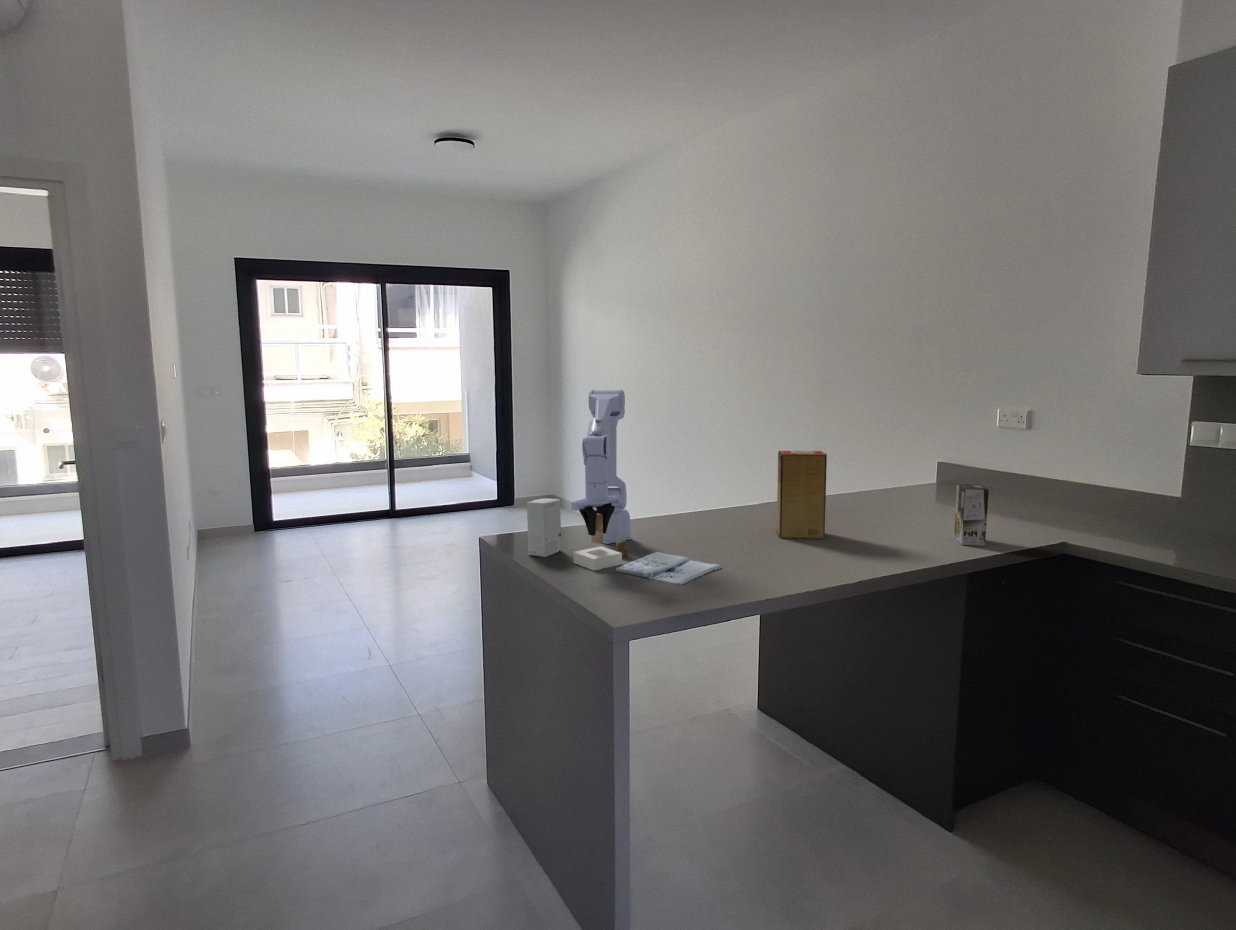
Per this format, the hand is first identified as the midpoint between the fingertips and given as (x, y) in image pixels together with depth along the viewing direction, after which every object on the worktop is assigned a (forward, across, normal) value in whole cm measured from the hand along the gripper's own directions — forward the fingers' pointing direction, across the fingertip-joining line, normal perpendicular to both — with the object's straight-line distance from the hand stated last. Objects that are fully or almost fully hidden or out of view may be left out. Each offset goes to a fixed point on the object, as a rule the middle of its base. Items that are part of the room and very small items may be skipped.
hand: (597, 533), depth 191 cm
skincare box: (+8, -5, +18) cm, 20 cm away
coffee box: (+8, +94, -50) cm, 107 cm away
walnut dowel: (+8, +10, +2) cm, 13 cm away
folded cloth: (+9, +10, -16) cm, 21 cm away
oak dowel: (+2, 0, 0) cm, 2 cm away
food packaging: (+8, +64, -14) cm, 66 cm away
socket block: (+8, 0, 0) cm, 8 cm away
